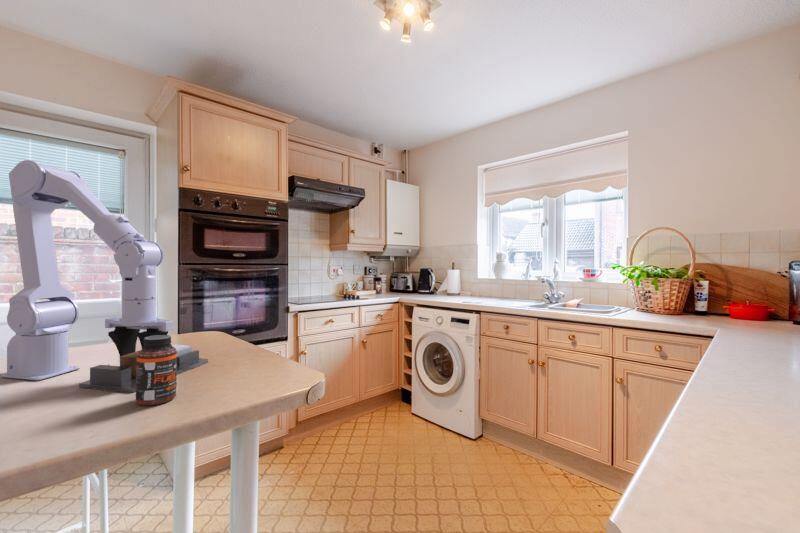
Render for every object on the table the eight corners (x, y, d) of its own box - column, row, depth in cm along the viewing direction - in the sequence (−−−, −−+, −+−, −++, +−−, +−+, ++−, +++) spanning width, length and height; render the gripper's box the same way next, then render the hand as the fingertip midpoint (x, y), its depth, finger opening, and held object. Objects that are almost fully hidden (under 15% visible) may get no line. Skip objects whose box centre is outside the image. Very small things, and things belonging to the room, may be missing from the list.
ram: (157, 362, 80) (157, 349, 80) (174, 357, 85) (174, 343, 85) (175, 364, 80) (175, 350, 79) (191, 358, 84) (192, 345, 84)
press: (78, 387, 67) (79, 366, 67) (164, 358, 87) (164, 343, 87) (132, 392, 65) (133, 371, 65) (208, 362, 85) (208, 345, 85)
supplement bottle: (155, 408, 59) (156, 341, 58) (126, 405, 60) (127, 339, 60) (184, 395, 64) (185, 334, 64) (157, 392, 66) (157, 332, 65)
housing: (119, 375, 71) (119, 356, 71) (143, 367, 77) (143, 349, 77) (139, 377, 71) (139, 357, 70) (161, 368, 76) (161, 350, 76)
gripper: (185, 298, 76) (184, 360, 76) (127, 295, 78) (126, 356, 78) (157, 301, 69) (156, 370, 69) (94, 299, 71) (94, 365, 71)
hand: (138, 363), depth 73 cm, fingers closed on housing, 4 cm apart
